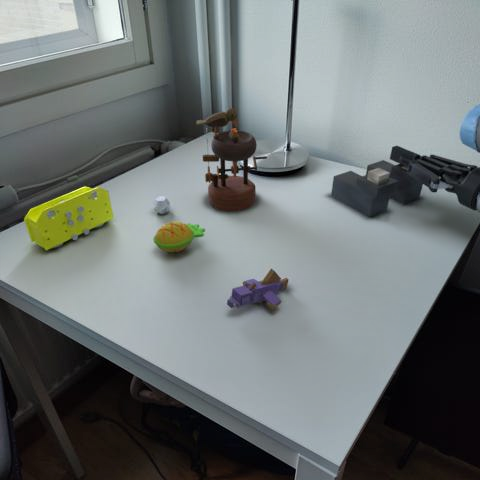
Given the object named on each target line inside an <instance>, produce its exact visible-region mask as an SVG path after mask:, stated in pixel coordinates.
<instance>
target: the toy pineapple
mask: <svg viewBox="0 0 480 480" xmlns="http://www.w3.org/2000/svg"><path fill="white" fill-rule="evenodd" d="M205 232H206V229H205V227H200V224H199V223H196V224H191V223H182V222H181V221H170V222H167V223H164V225H161V227H159V228H158V230H157V231H156V232H155V235H154V236H153V239H152V240H153V243H154V244H155V245H156V246H157V247H158V248H159V249H160V250H161V251H163V252H167V253H175V252H176V253H179V252H182V251H183V250H184V249H186V248H188V247H189V245H191V243H192V242H193V240H194V239H195V238H202V237H204V236H205V234H204V233H205Z"/></svg>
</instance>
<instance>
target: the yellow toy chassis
mask: <svg viewBox="0 0 480 480" xmlns="http://www.w3.org/2000/svg"><path fill="white" fill-rule="evenodd" d="M110 198H111V197H110V193H109V190H107V189H104V188H103V187H100V186H96V187H95V188H92V187H89V186H82V187H80V188H78V189H75V190H73V191H70V192H68V193H66V194H63V195H61V196H58V197H56V198H54V199H51V200H49V201H47V202H44V203H41V204H39V205H37V206H34V207H32V208H30V209H29V211H28V212H27V214H26V215H25V216H24V218H23V222H24V224H25V227H26V229H27V232H28V235H29V238H30V241H31V243H35V244H36V245H38V246H39V247H41V248H43V249H44V250H45V251H48V250H50V249H57V248H60V247H62V246H63V245H64V243H65V242H67V241H69V240H73V241H77V240H78V239H79V236H80V235H82V234H84V235H86V236H87V235H89V234H90V230H92V229H97V228H101V227H103V226H104V224H105V223H106V222H109V221H111V220H113V219H114V218H115V217H114V212H113V208H112V203H111V199H110Z"/></svg>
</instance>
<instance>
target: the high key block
mask: <svg viewBox="0 0 480 480" xmlns="http://www.w3.org/2000/svg"><path fill="white" fill-rule="evenodd" d="M367 177H368V175H366V174H365V175H360V174H359V173H357V172H355V171H353V170H349V171H345V172H342V173H340V174H336V175H333V179H332V186H331V194H330V196H331V197H333V198H334V199H336V200H338V201H339V202H341V203H343V204H345V205H347V206H349V207H350V208H352V209H353V210H356V211H357V212H358V213H361V214H362V215H364V216H366V217H368V218H373V217H374V216H376V215H379V214H382V213H385V212H387V210H388V207H389V203H390V199H391V198H390V194H391V193H393V192H396V189H397V185H398V181H397V180H395V179H393V178H391V177H389V178H388V181H387V182H385V183H382V184H379V185H377V184H375V183H373V182H371V181H369V180H367Z"/></svg>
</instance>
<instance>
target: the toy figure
mask: <svg viewBox="0 0 480 480" xmlns="http://www.w3.org/2000/svg"><path fill="white" fill-rule="evenodd" d="M289 281H290V279H289V278H288V277H285V278H281V276H280V275H279V274H278V273H277V272H276V271H275V270H274V269H273V268H270V269H269V270H268V272H267V274H266V275H265V276H264V278H263V279H262V280H259V281H258V280H257V279H255V278H252V279H251V278H250V279H247V280H244V281H242V285H241V286H237V287H234V288H232V290H231V296H229V298H228V299H227V302H226V305H227V306H228V307H229V308H230V309H233V308H237V309H240V308H242V307H245V306H248V305H250V304H255V303H258V305H261V304H262V303H263V302H265V303H266V304H265V306H267V307H268V308H269V309H271V310H272V311H274V310H275V309H277V308H278V306H279V305H281V303H282V299H280V298H279V297H278V296H277V295H278V294H279V291H281V290H286V289H287V288H288V284H289Z"/></svg>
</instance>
